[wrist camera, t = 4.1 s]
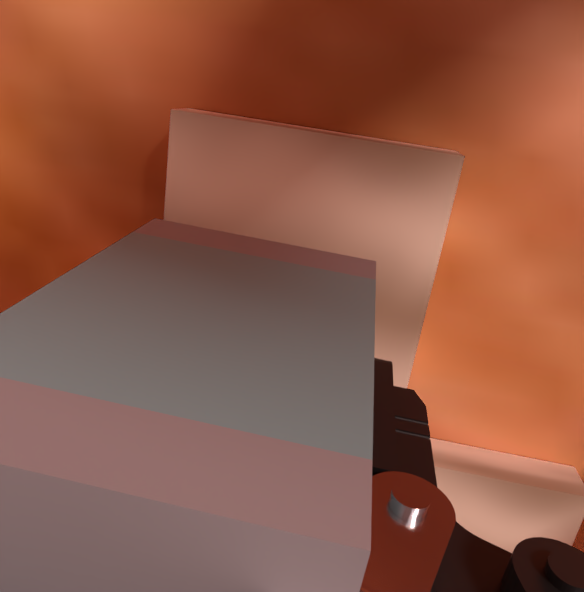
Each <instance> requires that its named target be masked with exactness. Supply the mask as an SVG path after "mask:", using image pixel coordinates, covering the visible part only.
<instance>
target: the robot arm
mask: <svg viewBox="0 0 584 592" xmlns="http://www.w3.org/2000/svg"><path fill="white" fill-rule="evenodd" d="M359 592H584V553H583V552H582V551H580V550H578V549H576V548H575V547H572V546H570V545H568V544H566V543H563V542H561V541H558V540H554V539H550V538H544V537H532V538H527V539H525V540H523V541H521V542H520V543H518V544H517V545H516V547H515V549H514V550H513V553H510V552H508V551H506V550H504V549H502V548H500V547H498V546H496V545H494V544H492V543H489V542H487V541H485V540H483V539H481V538H479V537H478V536H476V535H474V534H472V533H471V532H469V531H468V530H466V529H465V528H464V527H462V526H461V525H460V524H459V523H457V522H456V514H455V511H454V508H453V506H452V504H451V502H450V500H449V499H448V498H447V496H446V495H445V494H444V493H443V492H442V491H441V490H440V489H438V488H437V481H436V474H435V467H434V460H433V453H432V446H431V440H430V432H429V426H428V418H427V411H426V406H425V404H424V403H423V402H422V400H421V399H420V398H419V396H418V395H417V394H416V393H415V391H414V390H411V389H407V388H402V387H397V386H393V364H392V361H387V360H383V359H378V358H374V406H373V460H372V514H371V552H370V556H369V559H368V563H367V567H366V570H365V574H364V577H363V581H362V584H361V588H360V591H359Z"/></svg>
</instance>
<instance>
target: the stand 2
mask: <svg viewBox="0 0 584 592" xmlns="http://www.w3.org/2000/svg"><path fill="white" fill-rule="evenodd" d="M430 440H431V446H432V453H433V460H434V467H435V474H436V481H437V488H438V489H440V490H441V491H442V492H443V493H444V494H445V495H446V496H447V498H448V499H449V500H450V502H451V504H452V506H453V508H454V511H455V514H456V522H457V523H459V524H460V525H461V526H462V527H464V528H465V529H466V530H468V531H469V532H471V533H472V534H474V535H476V536H478V537H479V538H481V539H483V540H485V541H487V542H489V543H492V544H494V545H496V546H498V547H500V548H502V549H504V550H506V551H508V552H510V553H513V550H514V549H515V547H516V545H517V544H518V543H520V542H521V541H523V540H525V539H527V538H532V537H544V538H550V539H554V540H558V541H561V542H563V543H566V544H568V545H570V546H572V545H573V542H574V540H575V537H576V535H577V533H578V530H579V528H580V526H581V523H582V521H583V518H584V483H583V481H582V480H581V478H580V476H579V474H578V472H577V470H576V469H575V467H573V466H568V465H563V464H558V463H553V462H548V461H543V460H538V459H533V458H528V457H523V456H518V455H513V454H508V453H503V452H498V451H493V450H488V449H483V448H478V447H473V446H468V445H463V444H458V443H453V442H448V441H443V440H438V439H433V438H430Z"/></svg>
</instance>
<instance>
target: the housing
mask: <svg viewBox="0 0 584 592" xmlns="http://www.w3.org/2000/svg"><path fill="white" fill-rule="evenodd" d="M375 298H376V261H373V260H367V259H362V258H357V257H352V256H347V255H342V254H336V253H331V252H326V251H321V250H316V249H311V248H306V247H300V246H295V245H290V244H285V243H280V242H275V241H269V240H264V239H259V238H254V237H249V236H244V235H239V234H233V233H228V232H223V231H218V230H213V229H208V228H202V227H197V226H192V225H187V224H182V223H177V222H172V221H166V220H161V219H156V218H154V219H153V220H151V221H150V222H148V223H146V224H145V225H143V226H141V227H140V228H138V229H137V230H135V231H133V232H132V233H130V234H128V235H127V236H125V237H124V238H122V239H120V240H119V241H117V242H115V243H114V244H112V245H111V246H109V247H107V248H106V249H104V250H102V251H101V252H99V253H98V254H96V255H94V256H93V257H91V258H89V259H88V260H86V261H85V262H83V263H81V264H80V265H78V266H76V267H75V268H73V269H72V270H70V271H68V272H67V273H65V274H64V275H62V276H60V277H59V278H57V279H55V280H54V281H52V282H51V283H49V284H47V285H46V286H44V287H42V288H41V289H39V290H38V291H36V292H34V293H33V294H31V295H29V296H28V297H26V298H25V299H23V300H21V301H20V302H18V303H16V304H15V305H13V306H12V307H10V308H8V309H7V310H5V311H3V312H2V313H0V592H359V591H360V588H361V584H362V581H363V577H364V574H365V570H366V567H367V563H368V559H369V556H370V552H371V514H372V460H373V406H374V352H375Z"/></svg>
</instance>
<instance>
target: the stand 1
mask: <svg viewBox="0 0 584 592" xmlns="http://www.w3.org/2000/svg"><path fill="white" fill-rule="evenodd" d="M464 158H465V156H464V155H462V154H460V153H459V152H457V151H454V150H448V149H442V148H435V147H429V146H423V145H417V144H410V143H404V142H398V141H392V140H385V139H379V138H373V137H367V136H360V135H354V134H348V133H342V132H335V131H329V130H323V129H317V128H310V127H304V126H298V125H292V124H285V123H279V122H273V121H267V120H260V119H254V118H248V117H242V116H235V115H229V114H223V113H217V112H210V111H204V110H198V109H192V108H181V109H171V113H170V128H169V144H168V160H167V176H166V192H165V208H164V220H166V221H172V222H177V223H182V224H187V225H192V226H197V227H202V228H208V229H213V230H218V231H223V232H228V233H233V234H239V235H244V236H249V237H254V238H259V239H264V240H269V241H275V242H280V243H285V244H290V245H295V246H300V247H306V248H311V249H316V250H321V251H326V252H331V253H336V254H342V255H347V256H352V257H357V258H362V259H367V260H373V261H376V298H375V352H374V358H378V359H383V360H387V361H392V364H393V386H397V387H402V388H407V386H408V382H409V378H410V374H411V370H412V366H413V362H414V358H415V354H416V350H417V346H418V342H419V338H420V334H421V330H422V326H423V322H424V318H425V314H426V310H427V306H428V302H429V298H430V294H431V290H432V286H433V282H434V278H435V274H436V270H437V266H438V262H439V258H440V254H441V250H442V246H443V242H444V238H445V234H446V230H447V226H448V222H449V218H450V214H451V210H452V206H453V202H454V198H455V194H456V190H457V186H458V182H459V178H460V174H461V170H462V166H463V162H464Z"/></svg>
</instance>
